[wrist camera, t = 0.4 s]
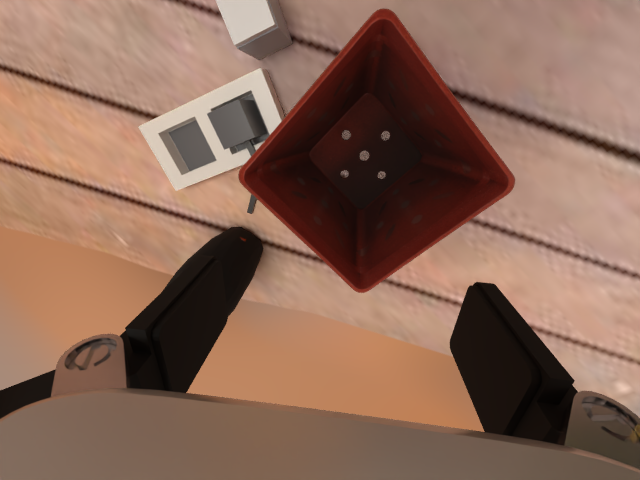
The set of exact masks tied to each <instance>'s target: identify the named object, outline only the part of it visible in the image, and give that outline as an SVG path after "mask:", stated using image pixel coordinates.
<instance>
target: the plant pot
mask: <svg viewBox="0 0 640 480" xmlns="http://www.w3.org/2000/svg"><path fill="white" fill-rule="evenodd" d="M344 130H349V131H350V133H351V137H350V138H349V139H348V140H344V139H343V138H342V136H341V134H342V132H343V131H344ZM383 131H389V132H390V135H391V136H390V138H389V139H388V140H387V141H383V140H382V139H381V133H382V132H383ZM363 150H366V151H368V152H369V154H370V157H369V159H368V160H367V161H362V160H360V158H359V153H360V152H361V151H363ZM342 170H347V171H348V172H349V176H348V177H347V178H345V179H343V178H342V177H341V176H340V172H341V171H342ZM380 171H384V172H385V173H386V177H385V178H384V179H379V178H378V177H377V174H378V172H380ZM239 180H240V183H241V184H242V185H243V186H244V187H245V188H246V189H247V190H248V191H249V192H250V193H251V194H252V195H254V196H255V197H256V198H257V199H258V200H259V201H260V202H261V203H262V204H263V205H264V206H265V207H266V208H267V209H269V210H270V211H271V212H272V213H273V214H274V215H275V216H276V217H277V218H278V219H279V220H280V221H281V222H282V223H283V224H285V225H286V226H287V227H288V228H289V229H290V230H291V231H292V232H293V233H294V234H295V235H296V236H297V237H298V238H300V239H301V240H302V241H303V242H304V243H305V244H306V245H307V246H308V247H309V248H310V249H311V250H313V251H314V252H315V253H316V254H317V255H318V256H319V257H320V258H321V259H322V260H323V261H324V262H325V263H326V264H327V265H328V266H329V267H330V268H331V269H332V270H333V271H334V272H336V273H337V274H338V275H339V276H340V277H341V278H342V279H343V280H344V281H345V282H346V283H347V284H348V285H349V286H350V287H351V288H352V289H353V290H355V291H356V292H359V293H364V292H367V291H369V290H371V289H372V288H373V287H375V286H376V285H378V284H379V283H380V282H382V281H383V280H385V279H386V278H387V277H389V276H390V275H392V274H393V273H395V272H396V271H397V270H399V269H400V268H402V267H403V266H404V265H406V264H407V263H409V262H410V261H412V260H413V259H414V258H416V257H417V256H419V255H420V254H422V253H423V252H424V251H426V250H427V249H429V248H430V247H432V246H433V245H434V244H436V243H437V242H439V241H440V240H442V239H443V238H445V237H446V236H448V235H449V234H450V233H452V232H453V231H455V230H456V229H458V228H459V227H460V226H462V225H463V224H465V223H466V222H468V221H469V220H471V219H472V218H474V217H475V216H477V215H478V214H479V213H481V212H482V211H484V210H485V209H487V208H488V207H490V206H491V205H493V204H494V203H496V202H497V201H499V200H500V199H502V198H503V197H504V196H506V195H507V194H509V193H510V192H511V191H512V189H513V187H514V184H515V177H514V175H513V174H512V173H511V171H510V170H509V169H508V167H507V166H506V165H505V163H504V162H503V161H502V159H501V158H500V157H499V155H498V154H497V153H496V151H495V150H494V149H493V148H492V146H491V145H490V144H489V142H488V141H487V140H486V138H485V137H484V136H483V134H482V133H481V132H480V130H479V129H478V128H477V126H476V125H475V124H474V122H473V121H472V120H471V118H470V117H469V115H468V114H467V113H466V111H465V110H464V109H463V107H462V106H461V105H460V103H459V102H458V100H457V99H456V98H455V96H454V95H453V94H452V92H451V91H450V90H449V88H448V87H447V85H446V84H445V83H444V81H443V80H442V79H441V77H440V76H439V74H438V73H437V72H436V70H435V69H434V67H433V66H432V65H431V63H430V62H429V60H428V59H427V58H426V56H425V55H424V54H423V52H422V51H421V49H420V48H419V47H418V45H417V44H416V42H415V41H414V40H413V38H412V37H411V35H410V34H409V32H408V31H407V30H406V28H405V27H404V25H403V24H402V23H401V21H400V20H399V18H398V17H397V16H396V14H395V13H394V12H392V11H391V10H389V9H379V10H377V11H376V12H374V13H373V14H372V15H371V17H370V18H369V19H368V20H367V21H366V22H365V23H364V25H363V26H362V27H361V28H360V29H359V30H358V32H357V33H356V34H355V35H354V36H353V37H352V39H351V40H350V41H349V42H348V43H347V44H346V46H345V47H344V48H343V49H342V50H341V52H340V53H339V54H338V55H337V56H336V58H335V59H334V60H333V61H332V62H331V64H330V65H329V66H328V67H327V68H326V70H325V71H324V72H323V73H322V74H321V75H320V77H319V78H318V79H317V80H316V81H315V83H314V84H313V85H312V86H311V87H310V88H309V90H308V91H307V92H306V93H305V94H304V96H303V97H302V98H301V99H300V100H299V101H298V103H297V104H296V105H295V106H294V108H293V109H292V110H291V111H290V112H289V113H288V114H287V116H286V117H285V118H284V119H283V120H282V121H281V123H280V124H279V125H278V126H277V127H276V128H275V130H274V131H273V132H272V133H271V134H270V135H269V137H268V138H267V139H266V140H265V141H264V142H263V144H262V145H261V146H260V147H259V148H258V149H257V150H256V152H255V153H254V154H253V155H252V156H251V157H250V159H249V160H248V161H247V162H246V163H245V164H244V165H243V167H242V168H241V169H240V171H239Z"/></svg>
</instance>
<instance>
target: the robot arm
mask: <svg viewBox="0 0 640 480" xmlns="http://www.w3.org/2000/svg"><path fill="white" fill-rule="evenodd" d="M227 319H228V313H227V304H226V295H225V287H224V278H223V269H222V263H221V261H218V259H217V257H214V256H204V255H200V256H199V257H198V258H197V259H196V260H195V261H194V262H193V263H192V264H190V265H189V266H188V267H187V268H186V269H185V270H184V271H183V272H182V273H181V274H180V275H179V276H178V277H177V278H176V279H175V280H174V281H173V282H172V283H171V284H170V285H169V286H168V287H167V288H166V289H165V290H164V291H163V292H162V293H161V294H160V295H159V296H158V297H156V298H155V300H154V301H152V302H151V303H150V304H149V305H148V306H147V307H146V308H145V309H144V310H143V311H142V312H141V313H140V314H139V315H138V316H137V317H136V318H135V319H134V320H133V321H132V322H131V323H130V324H129V325H128V326H127V327H126V328H125V329H126V331H125V332H124V333H123V334H121V335H120V336H118V335H114V334H101V335H96V336H92V337H90V338H88V339H84V340H82V341H80V342H79V343H77V344H75V345H73V346H72V347H71V348H69V349H68V350H67V351H65V353H64V354H63V355H62V356H61V357H60V359H59V361H58V363H57V366H56V369H55V370H53V371H50V372H48V373H45V374H42V375H40V376H37V377H35V378H32V379H29V380H27V381H24V382H21V383H19V384H16V385H14V386H11V387H9V388H6V389H4V390H1V391H0V480H640V418H639V417H638V416H637V415H636V414H634V413H633V412H632V411H630V410H629V409H628V408H627V407H625V406H624V405H622V404H620V403H619V402H617V401H615V400H613V399H611V398H609V397H607V396H605V395H602V394H599V393H596V392H592V391H580V392H577V390H576V389H575V388H574V387H573V385H572V384H573V383H574V379H573V378H572V377H571V376H570V375H569V373H568V372H567V371H566V370H565V369H564V367H563V366H562V365H561V364H560V363H559V361H558V360H557V359H556V358H555V356H554V355H553V354H552V353H551V352H550V350H549V349H548V348H547V347H546V346H545V344H544V343H543V342H542V341H541V340H540V338H539V337H538V336H537V335H536V333H535V332H534V331H533V330H532V329H531V327H530V326H529V325H528V324H527V323H526V321H525V320H524V319H523V318H522V317H521V315H520V314H519V313H518V312H517V311H516V309H515V308H514V307H513V306H512V304H511V303H510V302H509V301H508V300H507V298H506V297H505V296H504V295H503V294H502V292H501V291H500V290H499V289H498V288H497V286H496V285H495V284H491V283H481V282H476V283H475V284H474V285H473V286H469V287H468V290H467V293H466V295H465V298H464V301H463V304H462V307H461V310H460V313H459V316H458V319H457V322H456V325H455V327H454V330H453V333H452V336H451V339H450V349H451V352H452V354H453V357H454V359H455V362H456V364H457V366H458V369H459V371H460V374H461V376H462V378H463V381H464V383H465V385H466V388H467V390H468V393H469V395H470V398H471V400H472V402H473V405H474V407H475V409H476V412H477V414H478V417H479V419H480V422H481V424H482V426H483V429H484V431H485V432H480V431H473V430H465V429H458V428H451V427H444V426H436V425H429V424H422V423H415V422H408V421H400V420H393V419H386V418H378V417H371V416H362V415H356V414H348V413H341V412H332V411H325V410H318V409H310V408H302V407H295V406H287V405H279V404H271V403H263V402H256V401H247V400H239V399H232V398H224V397H216V396H208V395H198V394H189V393H186V392H187V391H188V389H189V387H190V385H191V384H192V382H193V380H194V378H195V377H196V375H197V373H198V372H199V370H200V368H201V366H202V365H203V363H204V361H205V359H206V358H207V356H208V354H209V353H210V351H211V349H212V347H213V346H214V344H215V342H216V340H217V339H218V337H219V335H220V333H221V332H222V330H223V328H224V327H225V325H226V322H227Z"/></svg>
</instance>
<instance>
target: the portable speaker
mask: <svg viewBox="0 0 640 480" xmlns="http://www.w3.org/2000/svg"><path fill="white" fill-rule="evenodd" d="M262 250H263V247H262V244H261V241H260V240H259V239H257V238H256V237H255V236H254V235H252V234H251V233H250V232H248V231H246V230H244V229H242V228H241V227H231V228H230V229H229V230H227V231H225V232H223V233H221V234H220V235H218V236H216V237H214V238H212V239H211V240H210V241H209V242H207V243H206V244H205V245H204V246H203V247H202V248H201V249H199V250H198V251H197V252H196V253H195V254H194V255H193V256H192V257H190V258H189V259H188V260H187V261H186V262H185V263H184V264H183V265H182V267H181V268H180V269H179V270H178V271H177V272H176V273H175V275H174V276H173V278H172V279H171V280H170V282H169V283H168V284H167V286H166V287H165V289H166V288H167V287H168V286H169V285H170V284H171V283H172V282H173V281H174V280H175V279H176V278H177V277H178V276H179V275H180V274H181V273H182V272H183V271H184V270H185V269H186V268H187V267H188V266H189V265H190V264H192V263H193V262H194V261H195V260H196V259H197V258H198V257H199V256H200V255H204V256H214V257H217V259H218V261H221V263H222V269H223V278H224V287H225V295H226V304H227V313H228V316H229V315H230V314H231V313H232V312H233V311H234V309H235V307H236V306H237V304H238V302H239V301H240V299H241V297H242V296H243V294H244V292H245V290H246V289H247V287H248V285H249V284H250V282H251V280H252V278H253V276H254V273H255V271H256V268H257V266H258V263H259V260H260V257H261V254H262ZM165 289H164V290H165ZM164 290H163V291H164ZM163 291H162V292H163Z"/></svg>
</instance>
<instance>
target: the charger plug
mask: <svg viewBox="0 0 640 480" xmlns="http://www.w3.org/2000/svg"><path fill="white" fill-rule="evenodd" d="M216 2H217V5H218V7H219V10H220V12H221V14H222V17H223V19H224V22H225V24H226V26H227V29H228V31H229V34H230V36H231V39H232V41H233V43H234V45H235V46H237V49H239V50H241V51H243V52H245V53H247V54H249V55H250V56H252V57H254V58H256V59H258V60H261V59H263V58H265V57H267V56H269V55H271V54H273V53H275V52H277V51H279V50H281V49H283V48H285V47H287V46H289V45H291V44H293V43H292V40H291V37H290V34H289V31H288V28H287V25H286V22H285V19H284V17H283V14H282V11H281V8H280V5H279V2H278V0H216Z"/></svg>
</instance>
